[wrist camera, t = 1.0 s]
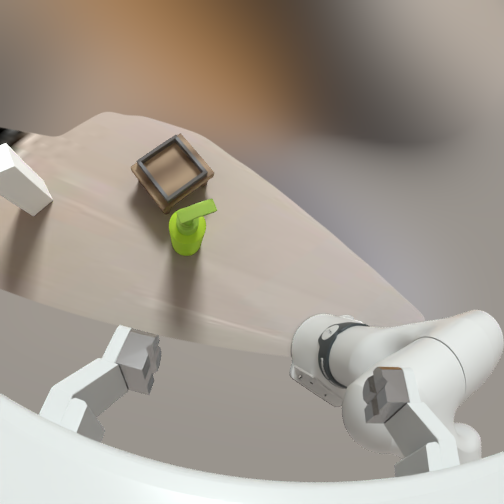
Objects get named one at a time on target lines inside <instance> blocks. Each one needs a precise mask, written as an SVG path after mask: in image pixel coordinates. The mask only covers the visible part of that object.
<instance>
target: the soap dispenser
mask: <svg viewBox="0 0 504 504" xmlns="http://www.w3.org/2000/svg"><path fill="white" fill-rule="evenodd" d="M216 211H217V209H216V206H215V204H214V201H213V199H209V200H205V201H202V202H199V203H196V204H193V205H191V206H188V207H186V208H182V209H179V210H177V211H176V212H175V213H174V214H173V215H172V216H171V218H170V221H169V232H170V237H171V242H172V246H173V248H174V250H175V251H176V252H177V253H178V254H180V255H183V256H190V255H193V254H194V253H196V252H197V251H198V250H199V248H200V246H201V242H202V239H203V236H204V233H205V230H206V222H205V219H204V217H203V216H205V215H207V214H210V213H214V212H216Z"/></svg>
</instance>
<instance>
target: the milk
mask: <svg viewBox="0 0 504 504" xmlns="http://www.w3.org/2000/svg"><path fill="white" fill-rule="evenodd" d="M0 195H1V196H2V197H4V198H5V199H7V200H9V201H10V202H12V203H13V204H15V205H16V206H18V207H19V208H21V209H22V210H24V211H26V212H27V213H29V214H30V215H32V216H35V215H36V214H37V213H38V212H40V211H41V210H42V209H43V208H44V207H46V206H47V205H48V204H49V203H50V202H52V201H53V199H52V197H51V195H50V193H49V191H48V189H47V187H46V185H45V183H44V181H43V180H42V179H41V178H40V177H39V176H38V175H37V174H36V173H35V172H34V171H33V170H32V169H31V168H30V167H29V166H28V165H27V164H26V163H25V162H24V161H23V160H22V159H21V158H20V157H19V156H18V155H17V154H16V153H15V152H14V151H13V150H12V149H11V148H10V147H9V146H8V145H7V144H6V143H5V144H2V145H0Z"/></svg>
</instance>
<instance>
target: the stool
mask: <svg viewBox="0 0 504 504" xmlns="http://www.w3.org/2000/svg"><path fill="white" fill-rule="evenodd" d="M131 170H132V172H133V173H134V174H135V176H136V177H137V178H138V180H139V182H140V183H141V184H142V185H143V186H144V188H145V189H146V190H147V192H148V193H149V194H150V195H151V197H152V198H153V199H154V201H155V202H156V203H157V205H158V206H159V207H160V208H161V210H162V211H163V213H164V214H168V213H169V212H170V208H171V207H172V206H174V205H175V204H176V203H178V202H179V201H180V200H182V199H183V198H184V197H186V196H187V195H188V194H190V193H191V192H192V191H194V190H195V189H197V188H198V187H199V186H206V185H207V182H208V180H209V179H211V178H212V177H213V176H214V172H213V171H212V169H211V168H210V167H209V166H208V165H207V163H206V162H205V161H204V160H203V159H202V158H201V156H200V155H199V154H198V153H197V152H196V151H195V149H194V148H193V147H192V146H191V145H190V144H189V143H188V141H187V140H186V139H185V138H184V137H183V136H182V134H181V133H180V134H179V135H175V136H173V137H172V138H170V139H168V140H167V141H165V142H164V143H162V144H161V145H159V146H158V147H156V148H155V149H153V150H152V151H150V152H149V153H147V154H146V155H145V156H143V157H142V158H140V159H139V160H137V163H136V164H134V165H133V166H131Z"/></svg>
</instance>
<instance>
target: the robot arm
mask: <svg viewBox="0 0 504 504" xmlns="http://www.w3.org/2000/svg"><path fill="white" fill-rule="evenodd" d="M159 341H160V340H159V335H156V334H152V333H148V332H144V331H140V330H136V329H133V328H129V327H126V326H122V325H120V326H119V327H118V328H117V329H116V331H115V333H114V335H113V337H112V339H111V341H110V343H109V345H108V347H107V349H106V351H105V353H104V355H103V357H102V359H100V358H97V359H96V360H94V361H93V362H91V363H89V364H88V365H86V366H85V367H83V368H81V369H80V370H78V371H77V372H75V373H73V374H72V375H70V376H69V377H67V378H65V379H64V380H62V381H61V382H59V383H57V384H56V385H54V386H53V387H52V388H51V391H50V392H49V395H48V397H47V398H46V401H45V403H44V405H43V407H42V409H41V411H40V413H39V415H38V414H36V413H34V412H32V411H30V410H28V409H27V408H25V407H23V406H21V405H20V404H18V403H16V402H14V401H13V400H11V399H9V398H8V397H6V396H4V395H3V394H1V393H0V504H504V451H503V452H500V453H497V454H494V455H491V456H488V457H485V458H482V459H481V438H480V436H479V434H478V433H477V432H476V431H475V430H474V429H473V428H472V427H470V426H469V425H467V424H464V423H454V415H455V412H456V410H457V408H458V407H459V406H460V405H461V404H462V403H463V402H464V401H465V400H466V399H468V398H469V397H470V396H471V395H472V394H473V393H474V392H475V391H476V390H477V389H478V388H479V387H480V386H481V385H482V384H483V383H484V382H485V381H486V380H487V379H488V378H489V376H490V375H491V373H492V371H493V369H494V368H495V366H496V365H497V363H498V361H499V359H500V357H501V355H502V352H503V347H504V340H503V334H502V331H501V329H500V326H499V325H498V323H497V322H496V320H495V319H494V318H493V317H492V316H491V315H489V314H488V313H486V312H484V311H480V310H471V311H468V312H465V313H462V314H459V315H456V316H452V317H448V318H443V319H438V320H431V321H425V322H418V323H413V324H407V325H402V326H397V327H389V328H381V327H370V326H368V325H366V324H364V323H363V322H360V321H357V320H354V318H353V317H352V316H350V315H343V316H334V315H330V314H319V315H315V316H313V317H311V318H309V319H307V320H306V321H305V322H304V323H303V324H302V325H301V326H300V327H299V328H298V330H297V331H296V333H295V335H294V338H293V341H292V347H291V353H292V365H291V368H290V377H291V378H292V379H294V380H295V381H296V382H298V383H299V384H301V385H302V386H304V387H305V388H307V389H308V390H310V391H311V392H313V393H314V394H316V395H317V396H319V397H320V398H322V399H323V400H325V401H326V402H328V403H329V404H331V405H333V406H335V407H340V406H342V417H343V422H344V425H345V428H346V430H347V432H348V433H349V435H350V436H351V438H352V439H353V440H354V441H355V442H356V443H357V444H358V445H360V446H361V447H363V448H364V449H366V450H368V451H371V452H374V453H379V454H393V455H396V456H398V457H400V458H401V459H402V460H401V461H399V462H397V463H396V464H395V478H386V479H377V480H365V481H350V482H285V481H271V480H259V479H249V478H242V477H234V476H227V475H221V474H215V473H209V472H204V471H198V470H194V469H189V468H184V467H180V466H175V465H171V464H167V463H164V462H159V461H156V460H152V459H148V458H145V457H142V456H139V455H135V454H132V453H129V452H126V451H123V450H120V449H117V448H114V447H111V446H108V445H106V444H103V443H101V441H102V438H103V435H104V432H105V430H104V427H103V426H102V425H101V423H100V422H99V421H98V419H97V418H96V417H97V416H99V415H100V414H101V413H102V412H104V411H105V410H106V409H107V408H109V407H110V406H111V405H112V404H113V403H114V402H116V401H117V400H118V399H119V398H121V397H122V396H123V395H124V394H125V393H127V392H128V390H131V391H135V392H139V393H143V394H147V395H149V394H150V391H151V388H152V386H153V383H154V378H153V374H154V373H155V372H157V371H158V368H159V365H160V360H161V348H160V347H159V346H158V343H159ZM299 375H301V377H300V378H298V376H299Z"/></svg>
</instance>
